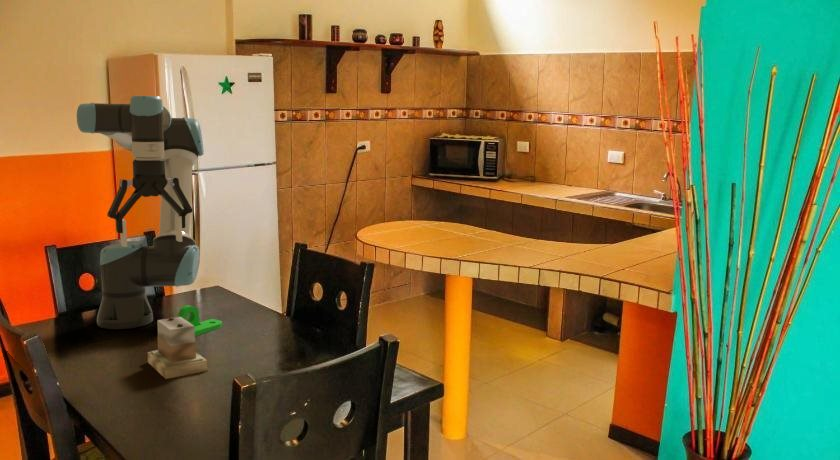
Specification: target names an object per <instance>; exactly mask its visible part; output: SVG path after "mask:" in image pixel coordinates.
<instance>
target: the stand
mask: <svg viewBox="0 0 840 460" xmlns="http://www.w3.org/2000/svg"><path fill="white" fill-rule="evenodd" d="M147 363H148V364H149V366H151V367H152V368H154V370H155V371H156V372H158V373H159V374H160V376H162V377H163V378H164V379H165V380H167V379H173V378H177V377H183V376H189V375H194V374H198V373H199V374H200V373H203V372H208V360H207V359H206V358H205V357H203V356H202V355H201V354H200V353H198V352H197V351H196V358H194V359H189V360H183V361H178V362H173V363H171V362H170V361H169V360H167V359H166V358H165V357H164V356H163V355H162V354H160V353H159V352H158V349H155V350H150V351H147Z"/></svg>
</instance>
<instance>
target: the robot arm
mask: <svg viewBox="0 0 840 460" xmlns="http://www.w3.org/2000/svg"><path fill="white" fill-rule="evenodd" d="M129 101H130V102H129V103H98V102H90V103H80V104H78V107H77V108H76V109H77V110H76V123H77V128H78V129H79V131H80V132H81V133H84V134H85V133H86V134H87V133H88V134H92V135H93V134H101V135H104V136H106V137H108V138H110V139H112V140H113V141H114V142H115V143H116V144H117V145H118V146H119V147H120V148H122V149H124V150H127V151H130V152H131V156H132V158H133V161H132V179H130V180H129V179H123V178H121V179H119V184H118V185H119V187H118V190H117V192H116V194H115V196H114V199H112V202H111V205H110V207H109V209H108V212H107V214H106V215H107V217H108V218H110V219H113V220H115V230H116V233H117V234H120V242H118V243H113V244H110V245H107V246H104V247H103V248H102V249H101V251H100V254H99V255H100V256H99V257H100V259H99V260H100V262H99V266H100V280H101V281H100V283H101V295H102V296H101V302H100V305H99V309H98V312H97V316H96V325H97V326H98V327H99V328H101V329H106V330H128V329H134V328H139V327H143V326H146V325H149V324H151V323H152V322H153V321H154V315H153V310H152V307H151V305H150V303H149V300H148V297H147V294H146V287H148V288H149V287H150V288H151V287H176V288H177V287H182V286H190V285H193V284H194V283H195V280H196V279H197V277H198V272H199V267H200V257H201V256H200V255H201V252H200V247H199V246H198V245H196V244H195V242H196V241H195V239H194V238H193V237H192V236H190V234H191V232H190V231H191V214H192V213H193V208H192V191H193V190H192V189H193V166H194V165H197V163H198V161H199V157H201V156H203V155H204V142H203V135H202V129H201V125H200V122H199V120H198V119H196V118H194V117H193V118H192V117H172V115H171V112H170V111H169V110H168V109H167V108H166V107H165V106H163V105H164V104H163V99H162V97H161V96H159V95H132V96H131V97H130V99H129ZM131 186H132V187H133V188H134V191H133V192H132V193H131V195H130V197H129V198H128V199H127V200H126V202H125V203H124V204H123V205H122V206H121V204H122V201H123V199H124V197H125V195H126V194H127V190H128V189H129V188H130V187H131ZM158 196H161V197H160V212H159V227H158V228H159V230H158V235H157V236H155V237H154V238H153V240H152V246H150V245H148V246H145V244H144V242H143V241H142V240H128V236H127V232H128V231H127V220H126V219H124V218H125V216H127V214H128V213H129V212H130V210H131V209H132V208H133V207H134V205H135V204H136V203H137V202H138V200H140V198H142V197H144V198H149V197H158ZM120 206H121V208H120ZM119 208H120V209H119Z"/></svg>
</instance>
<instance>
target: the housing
mask: <svg viewBox="0 0 840 460" xmlns="http://www.w3.org/2000/svg"><path fill="white" fill-rule="evenodd" d="M156 338H157V350H158V352H159V353H160V354H162V355H163V356H164V357H165V358H166V359H167V360H169V361H170V362H171V363H173V362H178V361H183V360H189V359H194V358H196V352H197V350H196V349H197V343H196V336H195V327H194V325H192V324H191V323H189V322H188V321H186V320H185V319H183V318H182V317H178V316H176V317H174V316H172V317H168V318H163V319H157V337H156Z"/></svg>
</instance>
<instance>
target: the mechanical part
mask: <svg viewBox="0 0 840 460" xmlns="http://www.w3.org/2000/svg"><path fill="white" fill-rule="evenodd" d="M189 314H190V316H189V318H188V315H189ZM177 317H182V318H183V319H185V320H186V321H188V322H189V323H191V324H192V325H194V327H195V337H197V336H199V335H204V334H206V333H210V332H212V331H215V330H217V329H220V328H222V327H223V321H222V320H219V319H215V318H210V319H207V320H203V321H200V313H199V309H198V308H197V307H196V306H194V305H187V304H186V305H183V307H181V309H180V310H179V312H178V314H177Z"/></svg>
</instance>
